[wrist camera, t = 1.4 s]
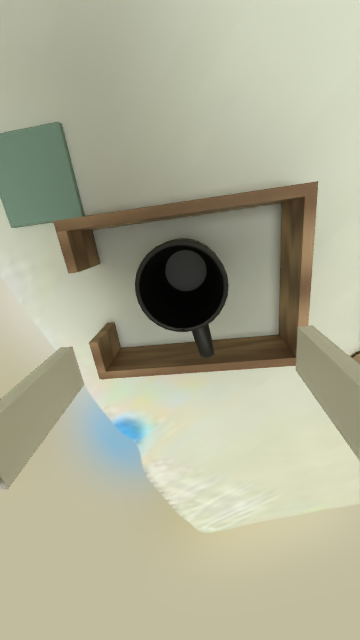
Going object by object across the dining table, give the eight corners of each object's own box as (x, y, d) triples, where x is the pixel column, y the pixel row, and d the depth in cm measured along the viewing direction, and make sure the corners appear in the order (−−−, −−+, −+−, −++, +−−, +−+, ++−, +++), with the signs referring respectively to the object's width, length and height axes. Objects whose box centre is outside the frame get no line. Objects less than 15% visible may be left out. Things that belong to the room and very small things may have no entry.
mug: (175, 334, 33) (167, 374, 24) (143, 249, 29) (119, 258, 20) (233, 318, 31) (248, 354, 22) (208, 225, 27) (214, 225, 19)
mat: (-16, 139, 26) (-21, 137, 25) (61, 124, 25) (58, 121, 24) (14, 227, 29) (11, 227, 28) (84, 217, 28) (82, 216, 27)
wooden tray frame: (81, 222, 28) (53, 221, 23) (291, 191, 26) (318, 181, 20) (115, 354, 35) (99, 379, 29) (286, 340, 32) (305, 364, 26)
